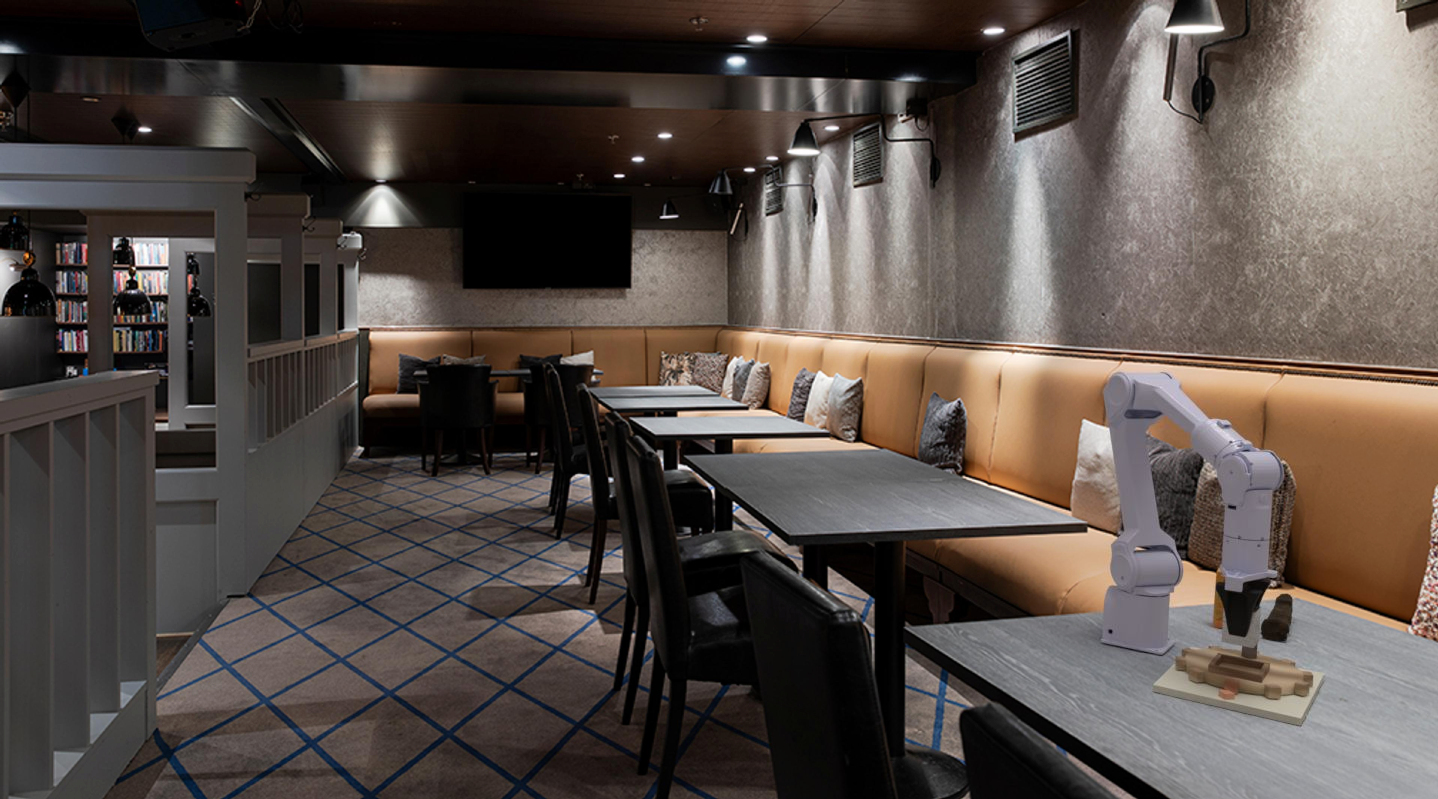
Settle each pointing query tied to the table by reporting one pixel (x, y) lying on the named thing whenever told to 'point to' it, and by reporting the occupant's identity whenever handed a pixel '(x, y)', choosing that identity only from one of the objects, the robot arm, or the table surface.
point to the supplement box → (1218, 603)
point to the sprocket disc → (1244, 671)
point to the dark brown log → (1278, 619)
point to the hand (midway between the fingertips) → (1240, 631)
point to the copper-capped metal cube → (1251, 636)
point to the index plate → (1240, 696)
